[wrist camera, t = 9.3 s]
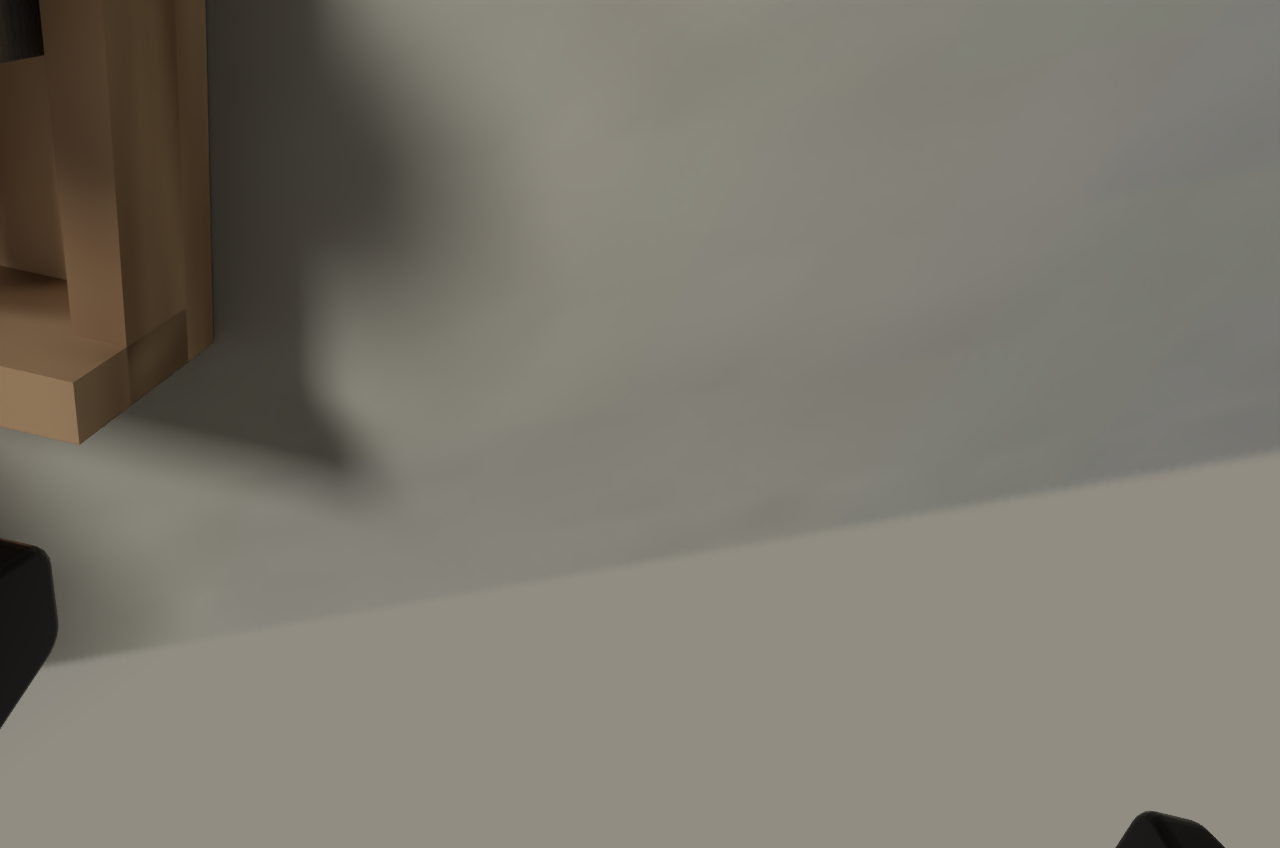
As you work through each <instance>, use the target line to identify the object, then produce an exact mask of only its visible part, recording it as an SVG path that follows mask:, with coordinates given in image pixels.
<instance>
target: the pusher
mask: <svg viewBox="0 0 1280 848" xmlns="http://www.w3.org/2000/svg"><path fill="white" fill-rule="evenodd" d="M43 55H44V45H43V35H42V25H41V15H40V5H39V0H0V63H5V62H11V61H16V60H21V59H27V58H32V57H37V56H43Z"/></svg>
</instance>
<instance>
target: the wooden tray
mask: <svg viewBox="0 0 1280 848" xmlns="http://www.w3.org/2000/svg"><path fill="white" fill-rule="evenodd" d="M39 5H40V15H41V25H42V35H43V45H44V55H43V56H37V57H32V58H27V59H21V60H16V61H11V62H5V63H0V427H5V428H9V429H13V430H18V431H22V432H26V433H31V434H35V435H39V436H44V437H48V438H52V439H57V440H61V441H65V442H70V443H74V444H78V445H80V444H81V443H82V442H84V441H85V440H86V439H88V438H89V437H90V436H92V435H93V434H94V433H95V432H97V431H98V430H99V429H101V428H102V427H103V426H105V425H106V424H107V423H109V422H110V421H111V420H113V419H114V418H115V417H117V416H118V415H119V414H121V413H122V412H123V411H124V410H126V409H127V408H128V407H130V406H131V405H132V404H134V403H135V402H136V401H138V400H139V399H140V398H142V397H143V396H144V395H146V394H147V393H148V392H150V391H151V390H152V389H153V388H155V387H156V386H157V385H159V384H160V383H161V382H163V381H164V380H165V379H167V378H168V377H169V376H171V375H172V374H173V373H175V372H176V371H177V370H178V369H180V368H181V367H182V366H184V365H185V364H186V363H188V362H189V361H190V360H192V359H193V358H194V357H196V356H197V355H198V354H200V353H201V352H202V351H204V350H205V349H206V348H207V347H209V346H210V345H211V344H213V300H212V258H211V216H210V174H209V131H208V89H207V47H206V5H205V0H39Z"/></svg>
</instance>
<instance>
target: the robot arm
mask: <svg viewBox="0 0 1280 848" xmlns="http://www.w3.org/2000/svg"><path fill="white" fill-rule="evenodd" d="M57 632H58V617H57V609H56V601H55V593H54V585H53V577H52V569H51V562H50V558H49V557H48V555H47V554H46V553H45V551H44V550H42V549H40V548H39V547H36V546H32V545H28V544H24V543H19V542H15V541H11V540H7V539H2V538H0V729H1V727H2V726H3V724H4V723H5V721H6V719H7V718H8V716H9V715H10V713H11V712H12V710H13V709H14V707H15V706H16V704H17V703H18V701H19V700H20V698H21V697H22V695H23V694H24V692H25V691H26V689H27V688H28V686H29V685H30V683H31V682H32V680H33V679H34V677H35V676H36V674H37V673H38V671H39V670H40V668H41V667H42V665H43V664H44V662H45V661H46V659H47V658H48V656H49V654H50V652H51V650H52V648H53V646H54V644H55V640H56V637H57ZM1116 848H1225V847H1224V846H1223V845H1222V844H1221V843H1220V842H1219V841H1218V840H1217V839H1216V838H1215V837H1214V836H1213V835H1212V834H1211V833H1210V832H1209V831H1208V830H1207V829H1205V828H1204V827H1203V826H1202V825H1200V824H1199V823H1196V822H1194V821H1192V820H1189V819H1184V818H1180V817H1176V816H1172V815H1168V814H1163V813H1159V812H1154V811H1146V812H1144V813H1142V814H1140V815H1138V816H1137V817H1136V818H1135V819H1134V820H1133V822H1132V823H1131V825H1130V827H1129V828H1128V829H1127V831H1126V832H1125V834H1124V836H1123V837H1122V839H1121V840H1120V842H1119V844H1118V845H1117V846H1116Z"/></svg>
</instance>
